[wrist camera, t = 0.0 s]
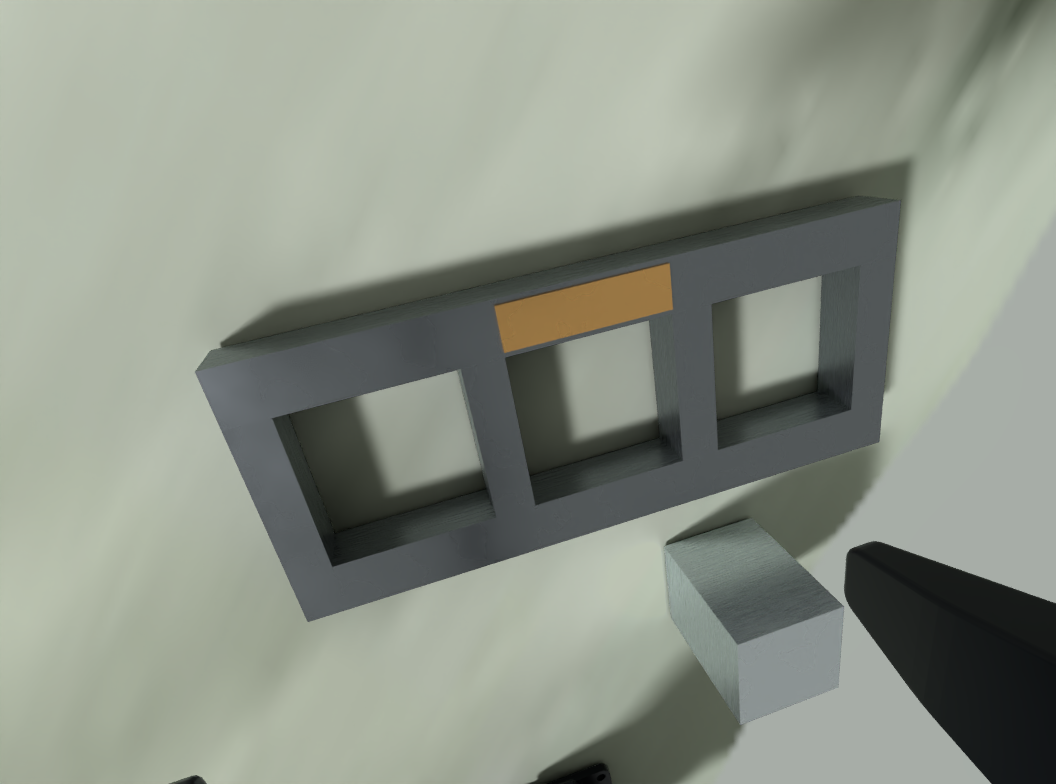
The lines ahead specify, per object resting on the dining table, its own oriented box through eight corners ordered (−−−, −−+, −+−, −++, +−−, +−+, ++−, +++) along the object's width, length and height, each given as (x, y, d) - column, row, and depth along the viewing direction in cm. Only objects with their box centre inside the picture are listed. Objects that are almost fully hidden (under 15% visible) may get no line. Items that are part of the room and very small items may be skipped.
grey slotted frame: (845, 422, 27) (881, 443, 25) (311, 585, 23) (307, 623, 21) (858, 195, 23) (903, 200, 21) (210, 350, 19) (193, 373, 17)
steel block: (752, 589, 30) (838, 687, 24) (671, 618, 29) (740, 725, 24) (751, 517, 28) (843, 606, 23) (663, 546, 27) (737, 644, 22)
